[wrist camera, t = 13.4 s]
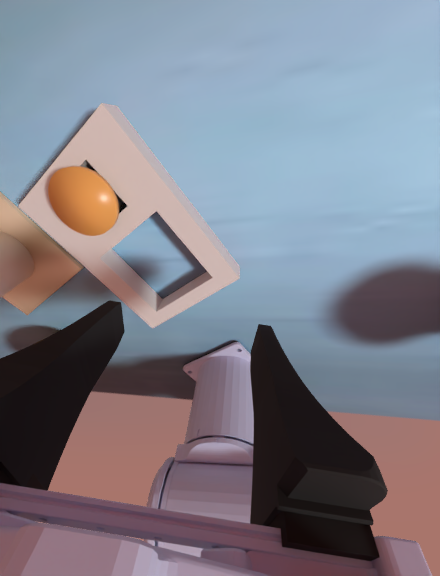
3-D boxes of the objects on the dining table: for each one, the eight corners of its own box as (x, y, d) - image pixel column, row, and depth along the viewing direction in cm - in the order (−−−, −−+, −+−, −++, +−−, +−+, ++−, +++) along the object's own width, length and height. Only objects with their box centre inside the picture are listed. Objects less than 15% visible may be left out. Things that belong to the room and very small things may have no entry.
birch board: (83, 267, 23) (81, 269, 22) (30, 312, 26) (27, 315, 26) (-23, 171, 19) (-28, 172, 18) (-68, 241, 23) (-73, 242, 22)
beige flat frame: (240, 266, 21) (239, 278, 19) (158, 315, 25) (152, 328, 23) (117, 105, 16) (101, 102, 14) (37, 199, 19) (17, 206, 18)
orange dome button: (144, 201, 19) (128, 212, 16) (108, 232, 20) (89, 247, 18) (99, 147, 17) (73, 150, 14) (63, 187, 19) (35, 195, 16)
